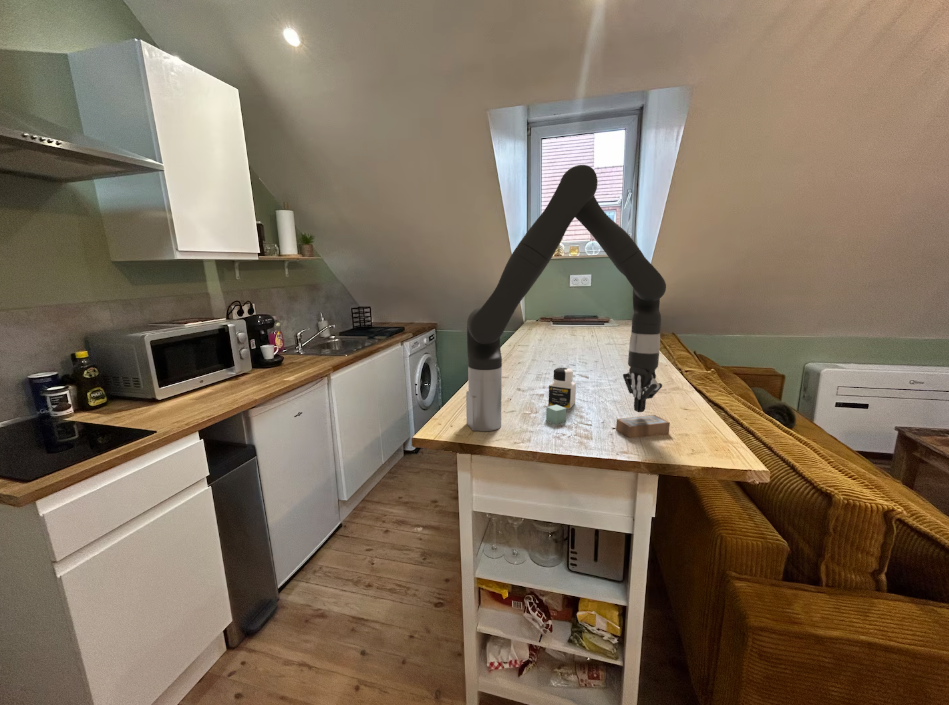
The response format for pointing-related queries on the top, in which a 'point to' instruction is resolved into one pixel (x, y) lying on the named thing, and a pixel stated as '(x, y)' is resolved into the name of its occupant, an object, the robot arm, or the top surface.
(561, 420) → the pale green block
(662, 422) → the walnut block
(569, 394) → the medicine bottle
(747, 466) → the top surface
